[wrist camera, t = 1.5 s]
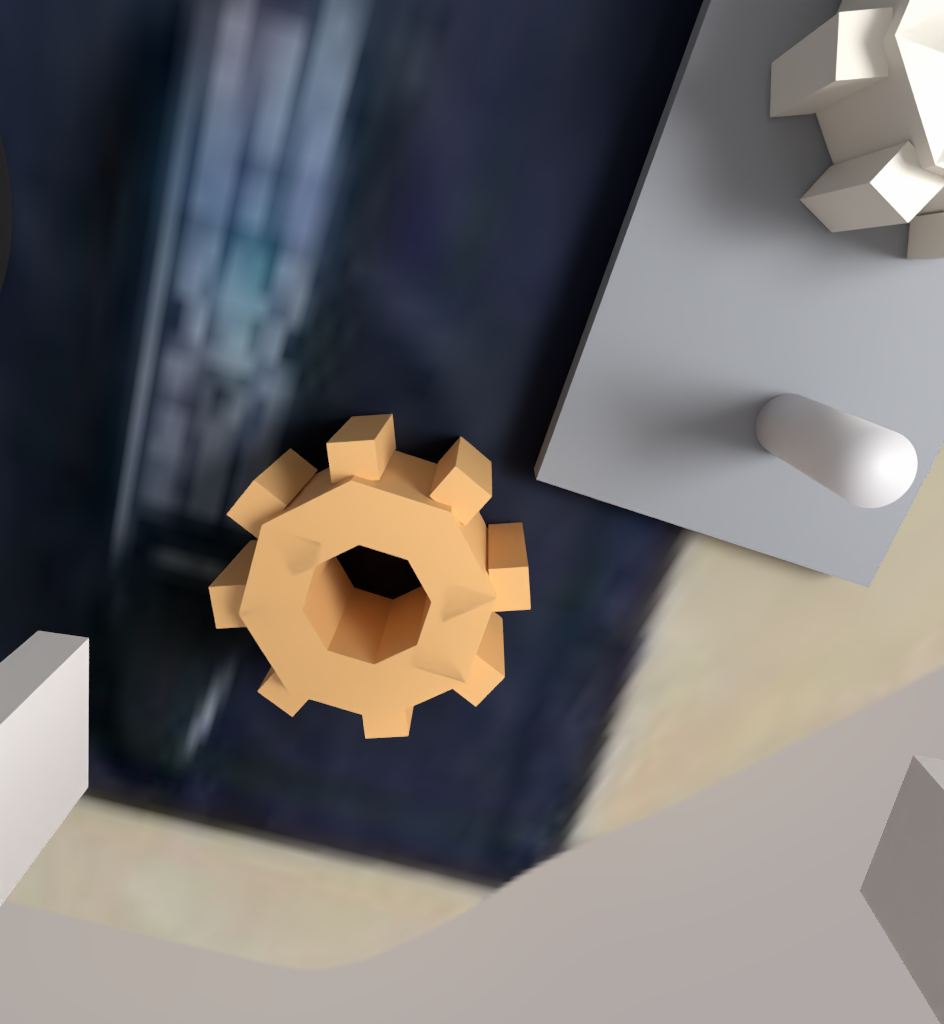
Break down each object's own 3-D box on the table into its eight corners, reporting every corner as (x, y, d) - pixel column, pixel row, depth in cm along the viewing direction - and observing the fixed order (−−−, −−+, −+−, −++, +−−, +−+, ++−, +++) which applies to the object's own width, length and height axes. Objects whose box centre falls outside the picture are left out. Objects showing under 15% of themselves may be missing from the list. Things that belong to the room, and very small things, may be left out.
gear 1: (228, 625, 29) (177, 694, 24) (291, 380, 26) (247, 404, 22) (472, 699, 30) (469, 780, 25) (558, 468, 27) (573, 509, 22)
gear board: (533, 468, 27) (550, 538, 20) (761, -160, 22) (896, -375, 14) (848, 571, 28) (973, 673, 21) (1143, -9, 23) (1448, -141, 15)
